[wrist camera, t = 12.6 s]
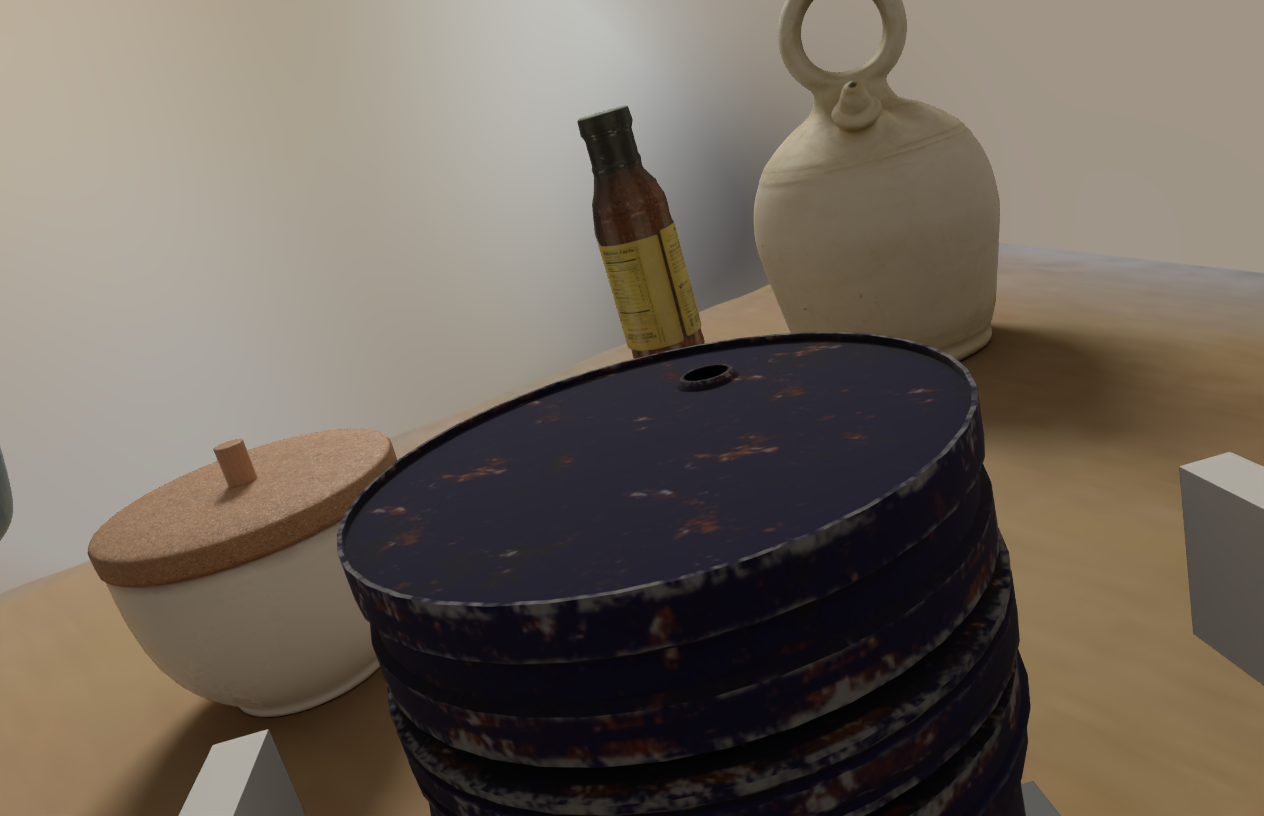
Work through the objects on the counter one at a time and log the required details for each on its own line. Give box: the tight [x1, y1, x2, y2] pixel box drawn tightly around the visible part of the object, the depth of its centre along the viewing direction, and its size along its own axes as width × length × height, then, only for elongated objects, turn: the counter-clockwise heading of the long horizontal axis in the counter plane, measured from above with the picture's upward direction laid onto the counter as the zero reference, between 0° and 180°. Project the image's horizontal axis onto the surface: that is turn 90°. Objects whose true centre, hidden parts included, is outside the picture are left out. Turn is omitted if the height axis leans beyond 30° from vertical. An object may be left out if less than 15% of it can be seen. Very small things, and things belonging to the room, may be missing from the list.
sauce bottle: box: [578, 105, 704, 359], centre depth 76 cm, size 7×6×20 cm
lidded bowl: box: [88, 429, 397, 717], centre depth 42 cm, size 13×13×11 cm
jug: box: [754, 0, 1000, 361], centre depth 62 cm, size 15×16×25 cm
